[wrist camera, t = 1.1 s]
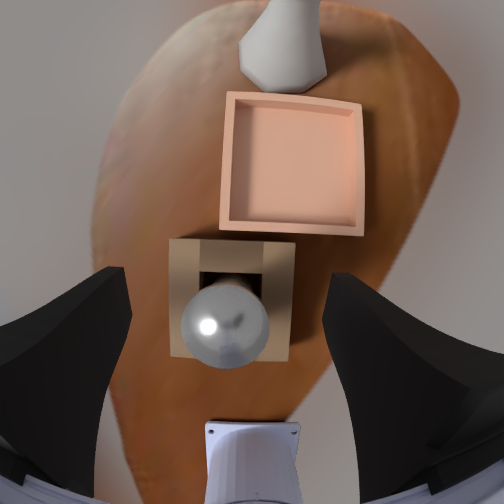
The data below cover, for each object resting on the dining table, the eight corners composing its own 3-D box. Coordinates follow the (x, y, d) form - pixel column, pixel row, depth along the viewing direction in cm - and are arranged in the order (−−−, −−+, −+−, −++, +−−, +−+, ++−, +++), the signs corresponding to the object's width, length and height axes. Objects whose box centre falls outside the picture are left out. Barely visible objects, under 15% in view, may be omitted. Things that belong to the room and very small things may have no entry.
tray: (353, 235, 22) (363, 236, 20) (221, 230, 21) (219, 229, 19) (352, 113, 21) (361, 104, 19) (228, 102, 21) (226, 91, 19)
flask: (300, 21, 20) (323, -57, 10) (340, 83, 21) (389, 12, 11) (223, 42, 20) (215, -43, 10) (259, 108, 21) (270, 30, 11)
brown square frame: (283, 347, 22) (287, 361, 19) (178, 343, 22) (170, 356, 19) (289, 241, 21) (295, 243, 19) (177, 237, 21) (169, 238, 19)
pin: (259, 323, 22) (267, 370, 14) (202, 321, 22) (182, 365, 14) (261, 267, 22) (271, 287, 14) (202, 265, 21) (180, 283, 14)
